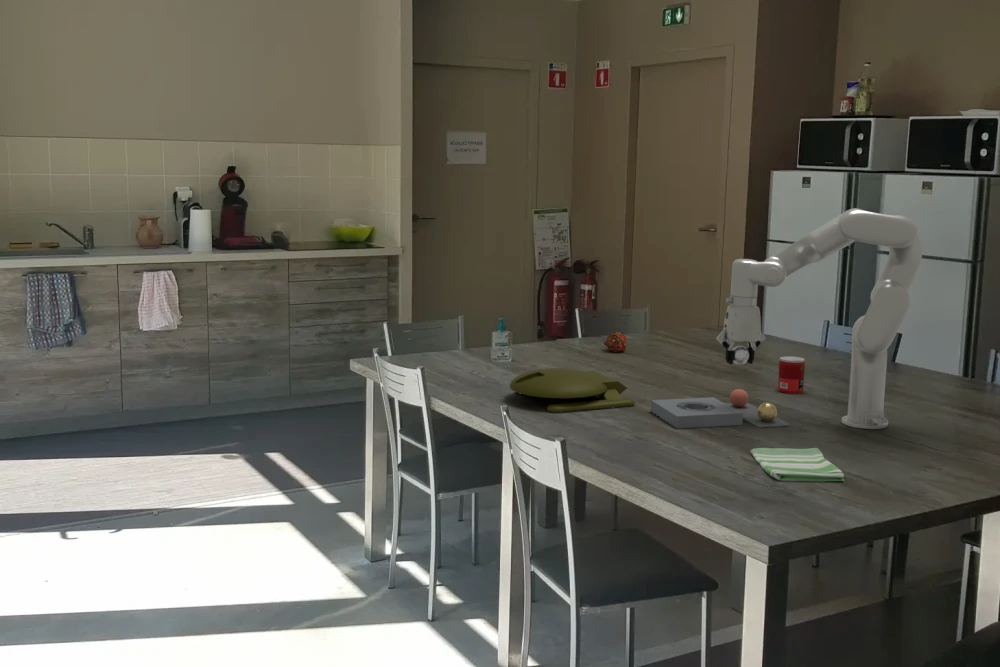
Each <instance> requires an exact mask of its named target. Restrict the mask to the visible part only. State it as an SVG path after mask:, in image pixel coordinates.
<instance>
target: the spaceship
mask: <svg viewBox="0 0 1000 667" xmlns="http://www.w3.org/2000/svg"><path fill="white" fill-rule="evenodd" d="M509 388H510V390H512V391H513V392H514V393H516V392H517V393H521V394H524V396H531V397H536V398H538V397H539V398H546V399H547V398H548V399H574V398H575V399H578V398H579V399H580V398H587V397H593V396H594V397H595V398H597V399H598V400H597V399H596V400H587V401H575V402H573V401H572V402H562V403H561V402H560V403H552V404H549V405H548V406H547V407H546V410H547V411H548V412H549V411H550V412H549V413H552V412H562V413H568V412H567V411H573V412H578V411H577V410H584V411H592V410H591V409H595V410H602V409H601V408H606V409H613V408H612V407H617V408H624V407H623V406H628V407H633V406H634V405H635V403H636V401H635V400H634V399H633V398H631V397H622V396H621V394H622V393H623V392H625V391H626V390H627V389H628V387H627V386H626V385H624V384H622V383H621V382H619V381H618V380H616V379H614V378H611V377H609V376H606V375H604V374H601V373H599V372H598V371H595V370H586V371H585V370H580V369H576V368H575V369H573V368H565V367H564V368H563V367H561V368H559V367H552V368H540V369H535V370H531V371H526V372H524V373H521V374H519V375H518V376H517V375H516V376H515V378H513V379H512V380H511V382H510V384H509ZM517 393H516V394H517ZM521 394H520V395H521ZM632 405H633V406H632Z"/></svg>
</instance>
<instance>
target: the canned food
mask: <svg viewBox="0 0 1000 667" xmlns="http://www.w3.org/2000/svg"><path fill="white" fill-rule="evenodd" d="M805 367H806V359H805V358H803V357H798V356H780V357H779V362H778V383H777V384H778V385H777V390H778V392H780V393H782V392H784V393H783V394H788V393H796V394H795V395H798V394H797V393H799V394H802V393H803V392H804V384H805V383H804V382H805Z"/></svg>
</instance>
